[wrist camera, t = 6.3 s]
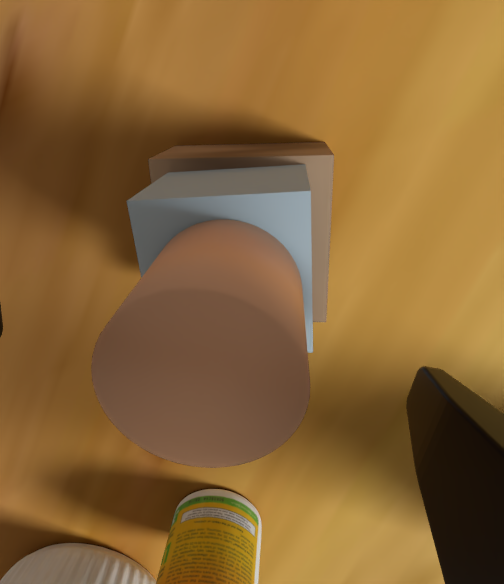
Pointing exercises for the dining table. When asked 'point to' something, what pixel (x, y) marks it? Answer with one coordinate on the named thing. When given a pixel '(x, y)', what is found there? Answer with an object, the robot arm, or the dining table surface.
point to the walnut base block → (266, 155)
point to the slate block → (229, 212)
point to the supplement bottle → (213, 541)
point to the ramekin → (77, 567)
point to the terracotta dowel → (209, 349)
